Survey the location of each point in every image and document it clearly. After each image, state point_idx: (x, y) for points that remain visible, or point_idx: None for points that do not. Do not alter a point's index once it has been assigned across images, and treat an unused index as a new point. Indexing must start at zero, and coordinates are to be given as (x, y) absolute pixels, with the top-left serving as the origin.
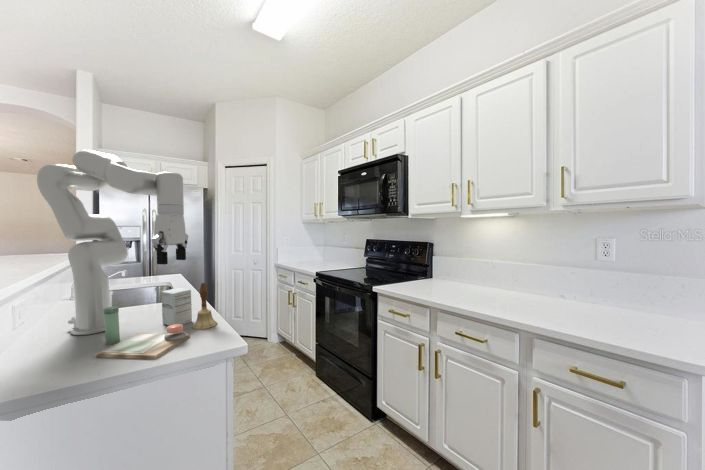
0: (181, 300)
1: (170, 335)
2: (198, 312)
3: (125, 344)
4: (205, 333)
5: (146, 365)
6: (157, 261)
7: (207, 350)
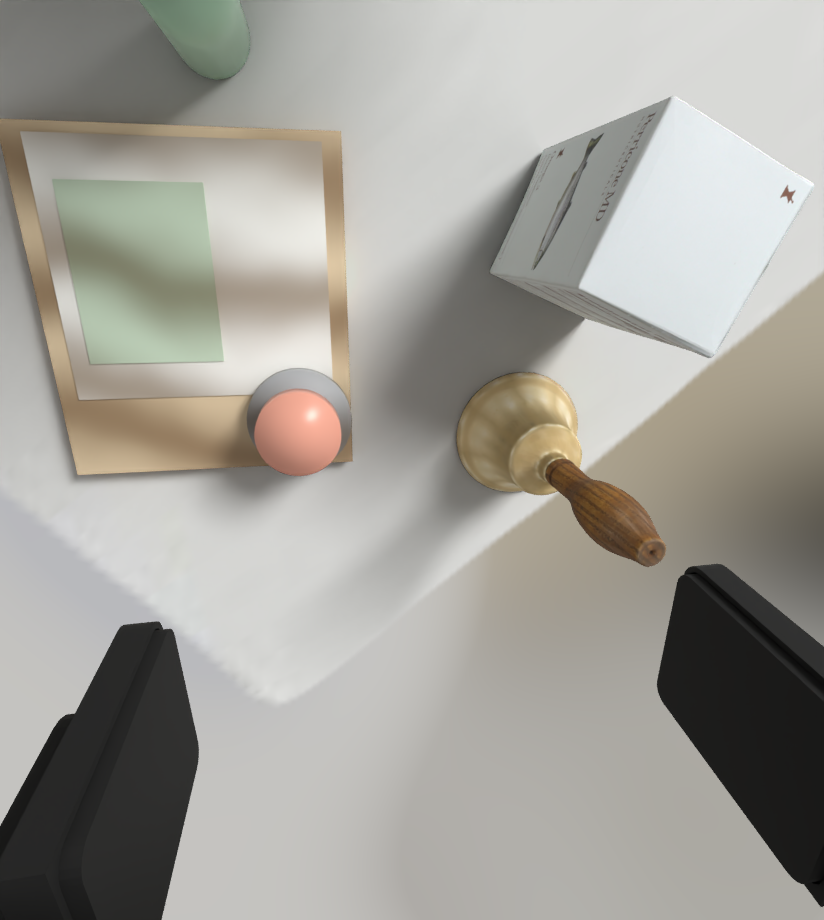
0: (600, 312)
1: None
2: (523, 440)
3: (147, 206)
4: (403, 502)
5: (18, 473)
6: (108, 667)
7: (217, 618)
